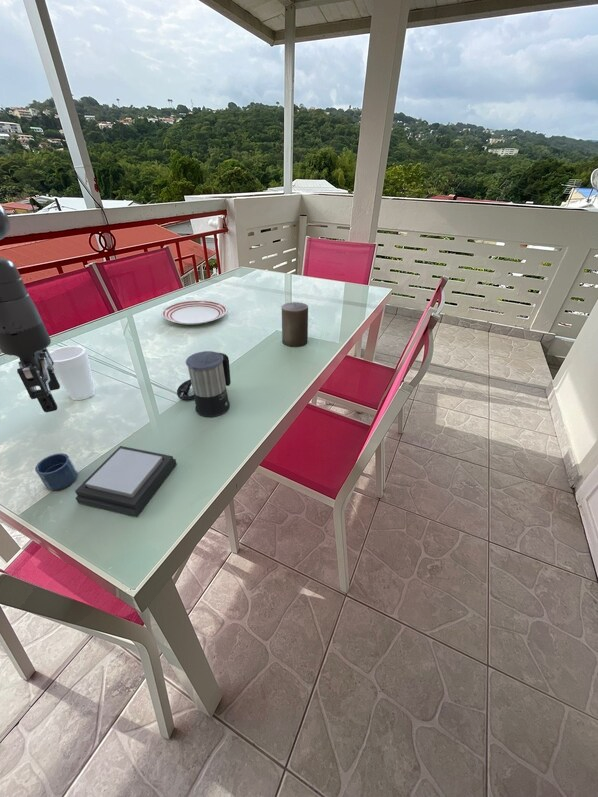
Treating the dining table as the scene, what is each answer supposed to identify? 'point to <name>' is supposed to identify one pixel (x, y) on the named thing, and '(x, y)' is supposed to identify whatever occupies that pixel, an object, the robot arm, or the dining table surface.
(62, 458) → the blue cup
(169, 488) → the dining table surface
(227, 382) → the milk frother
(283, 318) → the pillar candle
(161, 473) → the scale
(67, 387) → the foam cup
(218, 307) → the dinner plate
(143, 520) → the dining table surface
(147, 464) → the pan
